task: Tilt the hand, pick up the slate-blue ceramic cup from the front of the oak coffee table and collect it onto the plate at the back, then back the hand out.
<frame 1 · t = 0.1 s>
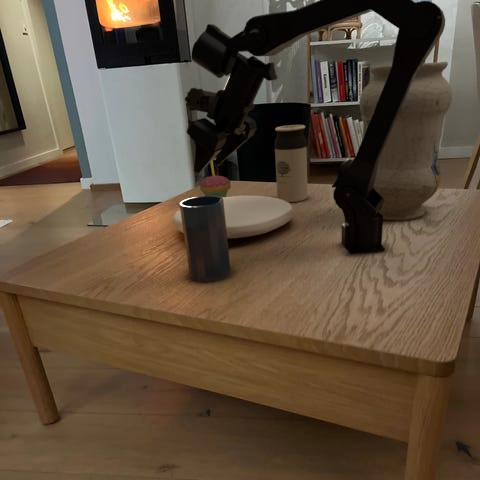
hand: (207, 167, 95), 15 cm above the table, tool tilted 35°, fingers open, 9 cm apart
cup: (210, 274, 84), on the table
cupcake: (217, 202, 131), on the table
vase: (396, 213, 108), on the table
travel mug: (292, 199, 127), on the table
plate: (234, 229, 108), on the table
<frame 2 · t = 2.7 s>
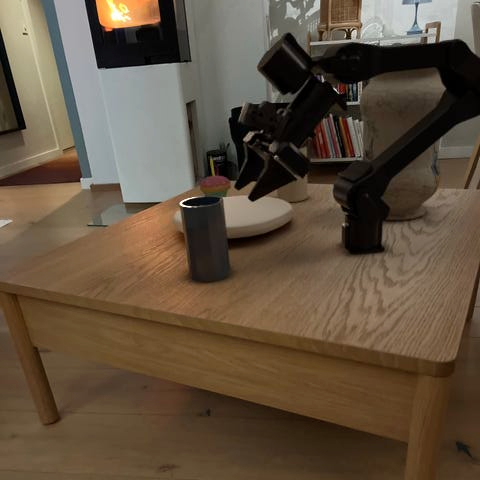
hand: (242, 194, 80), 13 cm above the table, tool tilted 45°, fingers open, 9 cm apart
nothing on the table moved.
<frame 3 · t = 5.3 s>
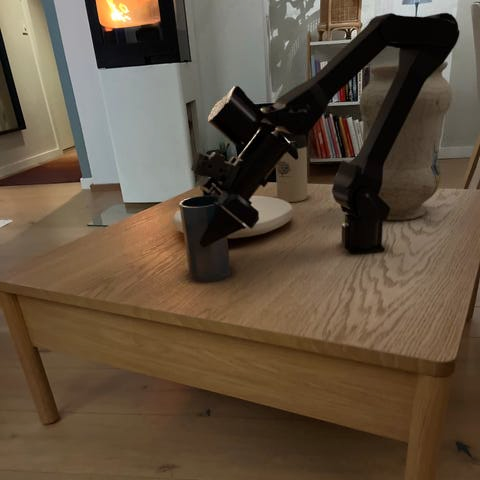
hand: (197, 238, 81), 7 cm above the table, tool tilted 45°, fingers closed on cup, 7 cm apart
cup: (210, 273, 84), on the table, touching gripper
everything else where it was.
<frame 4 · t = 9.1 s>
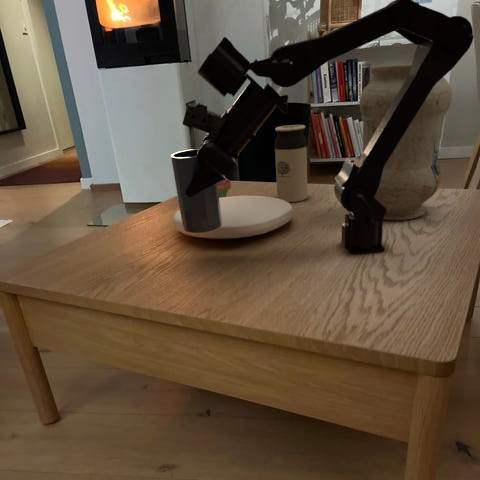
hand: (189, 190, 84), 13 cm above the table, tool tilted 45°, fingers closed on cup, 7 cm apart
cup: (202, 226, 88), point 7 cm above the table, touching gripper
everything else where it was.
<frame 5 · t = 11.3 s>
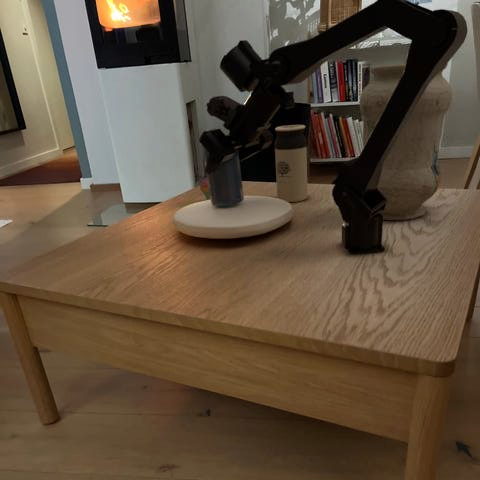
hand: (217, 169, 100), 13 cm above the table, tool tilted 45°, fingers closed on cup, 7 cm apart
cup: (227, 201, 103), point 7 cm above the table, touching gripper
everything else where it was.
when the fingers open (13 cm above the table, at t = 13.0 s): cup stays where it is, resting on plate.
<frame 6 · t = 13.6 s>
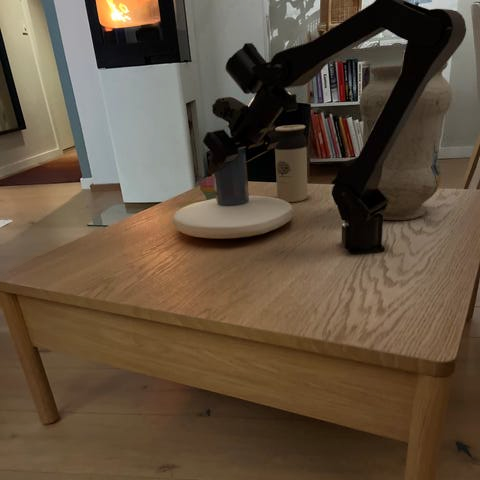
hand: (223, 168, 102), 13 cm above the table, tool tilted 45°, fingers open, 9 cm apart
cup: (233, 201, 105), point 6 cm above the table, touching plate
plate: (234, 229, 108), on the table, touching cup
everything else where it was.
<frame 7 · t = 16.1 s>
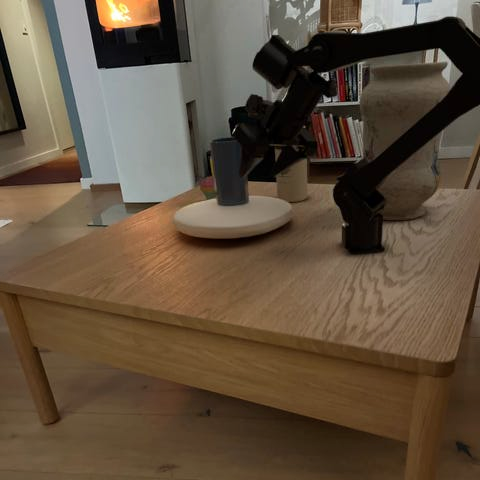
hand: (256, 176, 95), 13 cm above the table, tool tilted 35°, fingers open, 9 cm apart
nothing on the table moved.
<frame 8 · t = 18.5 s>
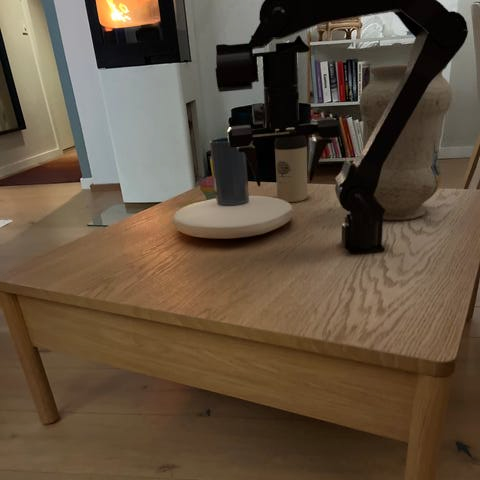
hand: (284, 183, 85), 13 cm above the table, tool pointing down, fingers open, 9 cm apart
nothing on the table moved.
at the end: cup inside the target area on the plate (0.3 cm from its centre), point 6.2 cm above the plate's base; cup tilted 0°; the gripper is holding nothing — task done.
